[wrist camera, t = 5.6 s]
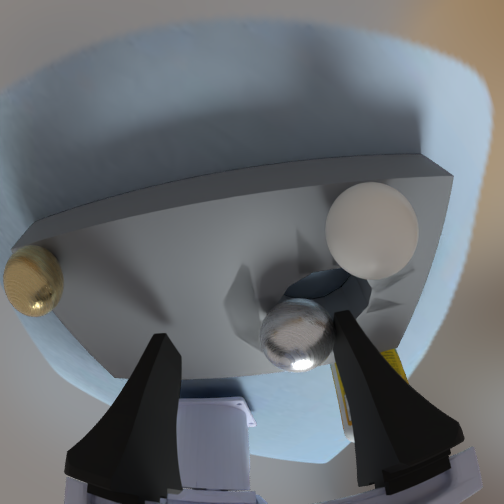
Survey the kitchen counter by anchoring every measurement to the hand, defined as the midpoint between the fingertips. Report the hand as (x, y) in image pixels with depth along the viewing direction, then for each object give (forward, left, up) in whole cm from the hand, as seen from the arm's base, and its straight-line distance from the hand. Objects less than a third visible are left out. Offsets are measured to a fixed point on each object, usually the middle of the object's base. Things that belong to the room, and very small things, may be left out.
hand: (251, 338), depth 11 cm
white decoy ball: (+5, -4, 0) cm, 7 cm away
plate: (0, +1, -4) cm, 4 cm away
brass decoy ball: (+5, +9, 0) cm, 10 cm away
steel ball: (0, -2, 0) cm, 2 cm away
